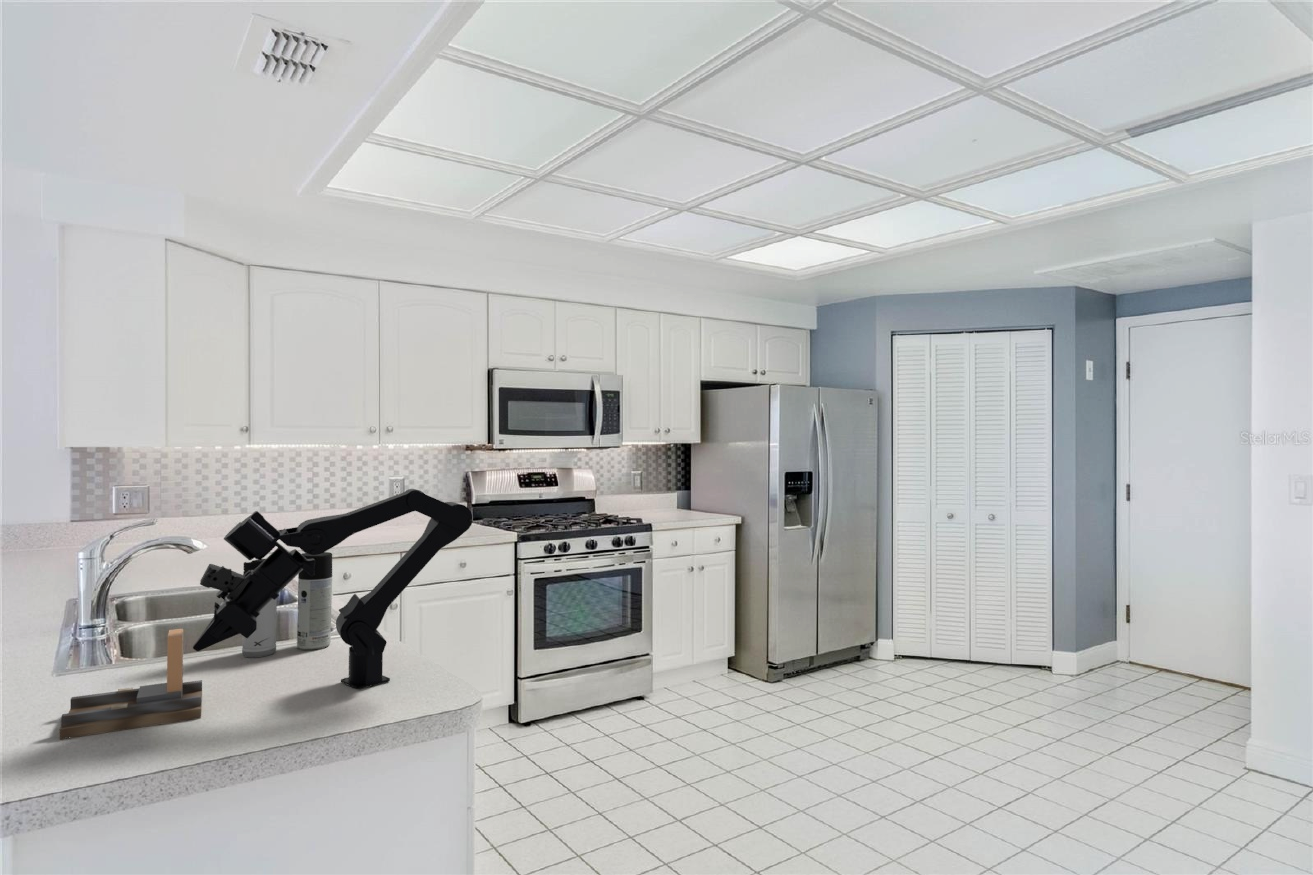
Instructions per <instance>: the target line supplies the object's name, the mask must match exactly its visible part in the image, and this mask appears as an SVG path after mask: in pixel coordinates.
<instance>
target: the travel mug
mask: <svg viewBox="0 0 1313 875" xmlns="http://www.w3.org/2000/svg"><path fill="white" fill-rule="evenodd" d="M265 559H266V558H262V559H261V560H258V559H252V560H251V561H250V562H249V561H248V562H247V561H245V562H243V573H242V575H244V574H245V573H246V572H247V571H248V570H250V571H251V570H253V571H254V570H255V569H256V568H257V567H258V566H259V565H260V564H261V563H262V562H263V561H264V560H265ZM277 598H278V597H277ZM277 598H276V599H275V600H274V599H272V600H271V601H270V602H269V603H268V604H267V605H266V606H265V607H263V608H262V609H261V610H260V611H259V612H260V615H258V616H257V617H256V621H257V628H256V631H254V632H253V633H252V634H251V635H250V636H249V637H248V638H245V637H244V636H243V635H241V636H242V642H241V644H242V646H241V647H242V648H241V651H242V654H241V655H242V656H243V657H245V658H250V659H251V658H263V657H267V656H271V655H274V654H275V653H276V652H277V612H278V611H277V610H278V609H277V608H278V607H277V602H278V600H277Z"/></svg>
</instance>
